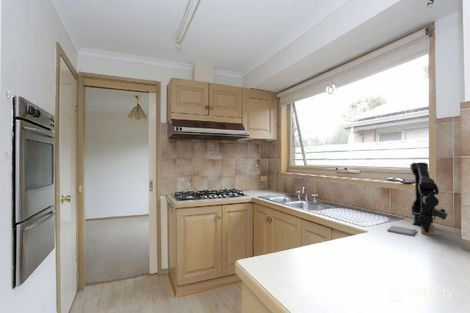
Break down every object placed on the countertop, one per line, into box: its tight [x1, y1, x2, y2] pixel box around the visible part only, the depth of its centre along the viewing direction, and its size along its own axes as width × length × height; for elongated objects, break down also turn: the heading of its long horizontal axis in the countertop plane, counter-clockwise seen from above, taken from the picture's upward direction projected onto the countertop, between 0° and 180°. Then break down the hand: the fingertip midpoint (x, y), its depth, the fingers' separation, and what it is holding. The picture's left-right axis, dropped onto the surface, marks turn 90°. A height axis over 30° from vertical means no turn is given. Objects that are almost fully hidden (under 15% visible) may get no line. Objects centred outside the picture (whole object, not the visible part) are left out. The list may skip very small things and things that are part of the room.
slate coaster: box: [387, 225, 418, 237], centre depth 137 cm, size 12×12×1 cm
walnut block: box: [420, 223, 435, 236], centre depth 133 cm, size 5×5×5 cm
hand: (427, 231), depth 133 cm, fingers closed on walnut block, 5 cm apart
